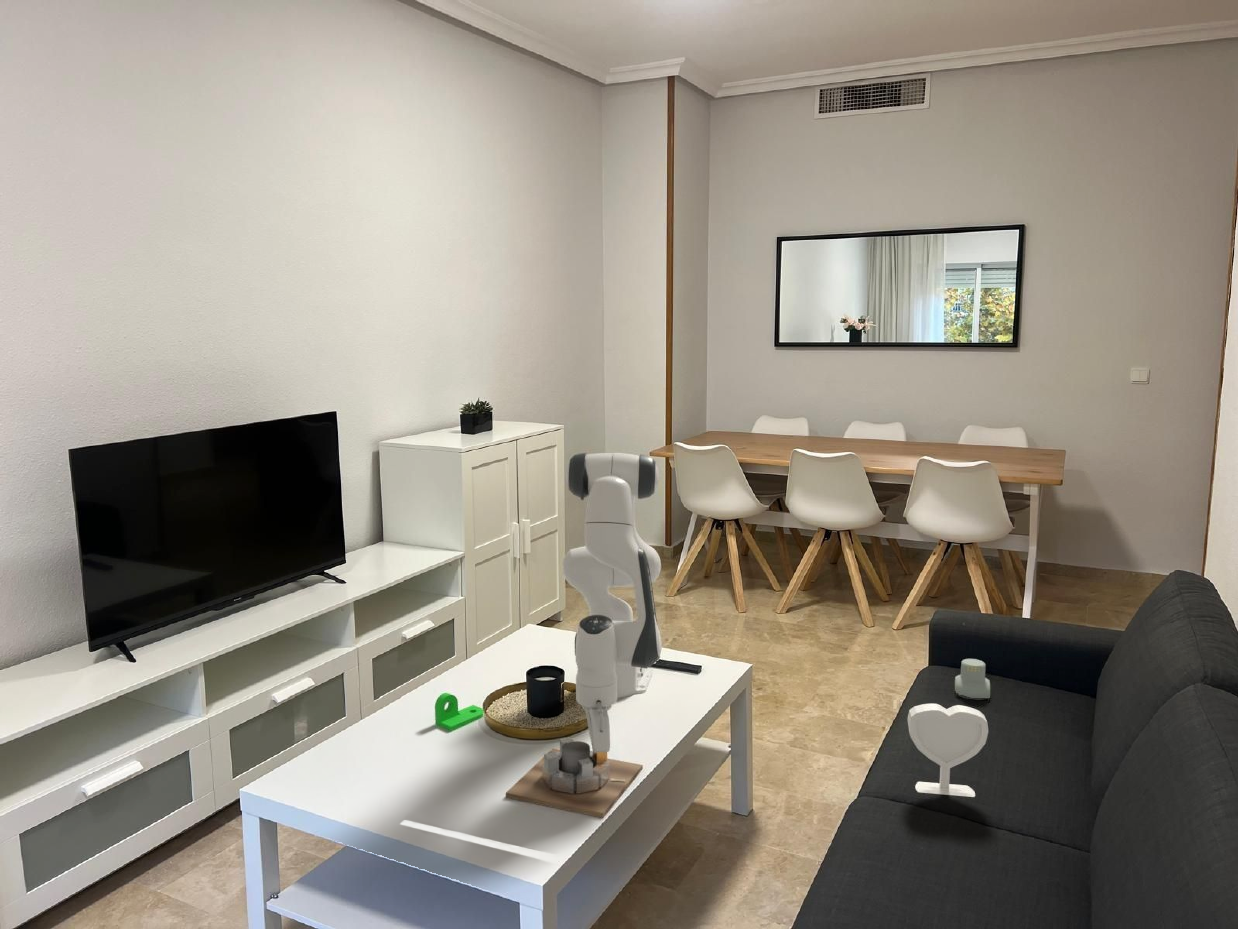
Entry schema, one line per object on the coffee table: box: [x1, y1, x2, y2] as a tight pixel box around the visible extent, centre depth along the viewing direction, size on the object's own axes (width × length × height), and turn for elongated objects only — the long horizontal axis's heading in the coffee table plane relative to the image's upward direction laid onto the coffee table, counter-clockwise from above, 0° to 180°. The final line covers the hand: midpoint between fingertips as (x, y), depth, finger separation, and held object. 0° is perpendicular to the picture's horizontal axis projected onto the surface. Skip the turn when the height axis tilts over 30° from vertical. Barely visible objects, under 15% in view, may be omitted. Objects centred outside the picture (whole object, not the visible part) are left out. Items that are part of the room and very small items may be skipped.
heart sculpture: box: [906, 703, 989, 798], centre depth 193 cm, size 16×5×18 cm, turn 79°
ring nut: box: [542, 736, 610, 794], centre depth 197 cm, size 14×14×6 cm
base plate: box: [505, 740, 644, 819], centre depth 197 cm, size 22×22×8 cm
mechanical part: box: [434, 692, 484, 732], centre depth 228 cm, size 12×6×8 cm, turn 139°
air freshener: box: [954, 658, 991, 698], centre depth 240 cm, size 11×8×10 cm
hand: (597, 752), depth 200 cm, fingers closed, pressing on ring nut
